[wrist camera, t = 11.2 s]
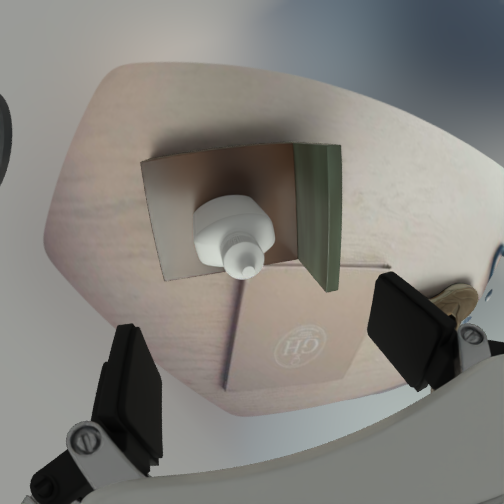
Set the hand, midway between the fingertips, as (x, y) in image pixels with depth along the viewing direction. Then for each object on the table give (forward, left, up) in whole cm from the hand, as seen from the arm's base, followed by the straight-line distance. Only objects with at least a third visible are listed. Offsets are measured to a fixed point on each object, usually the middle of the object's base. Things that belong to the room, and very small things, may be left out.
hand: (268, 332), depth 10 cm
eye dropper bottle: (0, 0, -17) cm, 17 cm away
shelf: (0, 0, -22) cm, 22 cm away
